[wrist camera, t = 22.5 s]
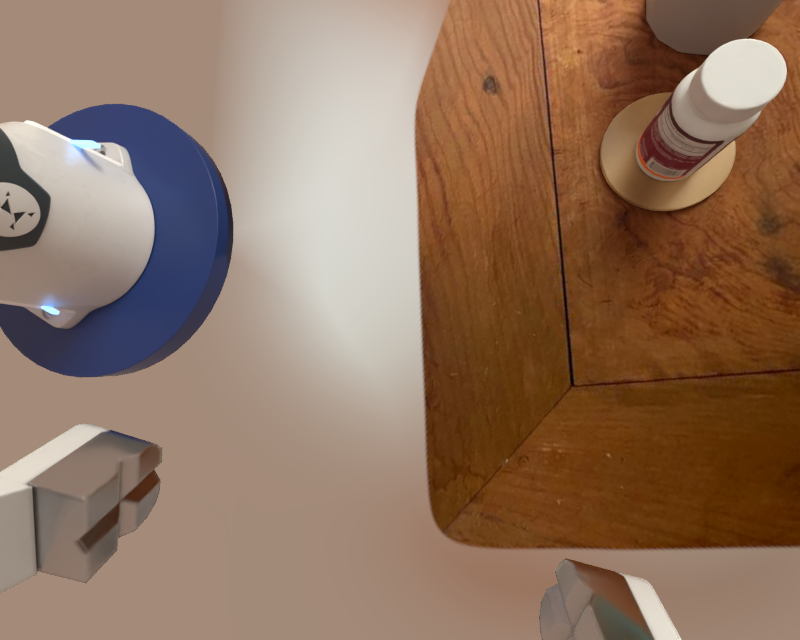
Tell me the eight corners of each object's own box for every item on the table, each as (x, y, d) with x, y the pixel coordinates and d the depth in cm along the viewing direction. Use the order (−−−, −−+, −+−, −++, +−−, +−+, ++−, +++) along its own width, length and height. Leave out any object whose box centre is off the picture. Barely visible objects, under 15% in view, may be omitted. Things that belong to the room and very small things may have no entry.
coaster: (585, 197, 30) (586, 195, 30) (616, 86, 31) (618, 83, 30) (714, 223, 29) (718, 221, 28) (746, 105, 29) (750, 102, 28)
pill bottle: (686, 110, 29) (769, 15, 21) (716, 166, 28) (814, 91, 20) (622, 137, 30) (678, 56, 22) (649, 193, 29) (718, 131, 21)
